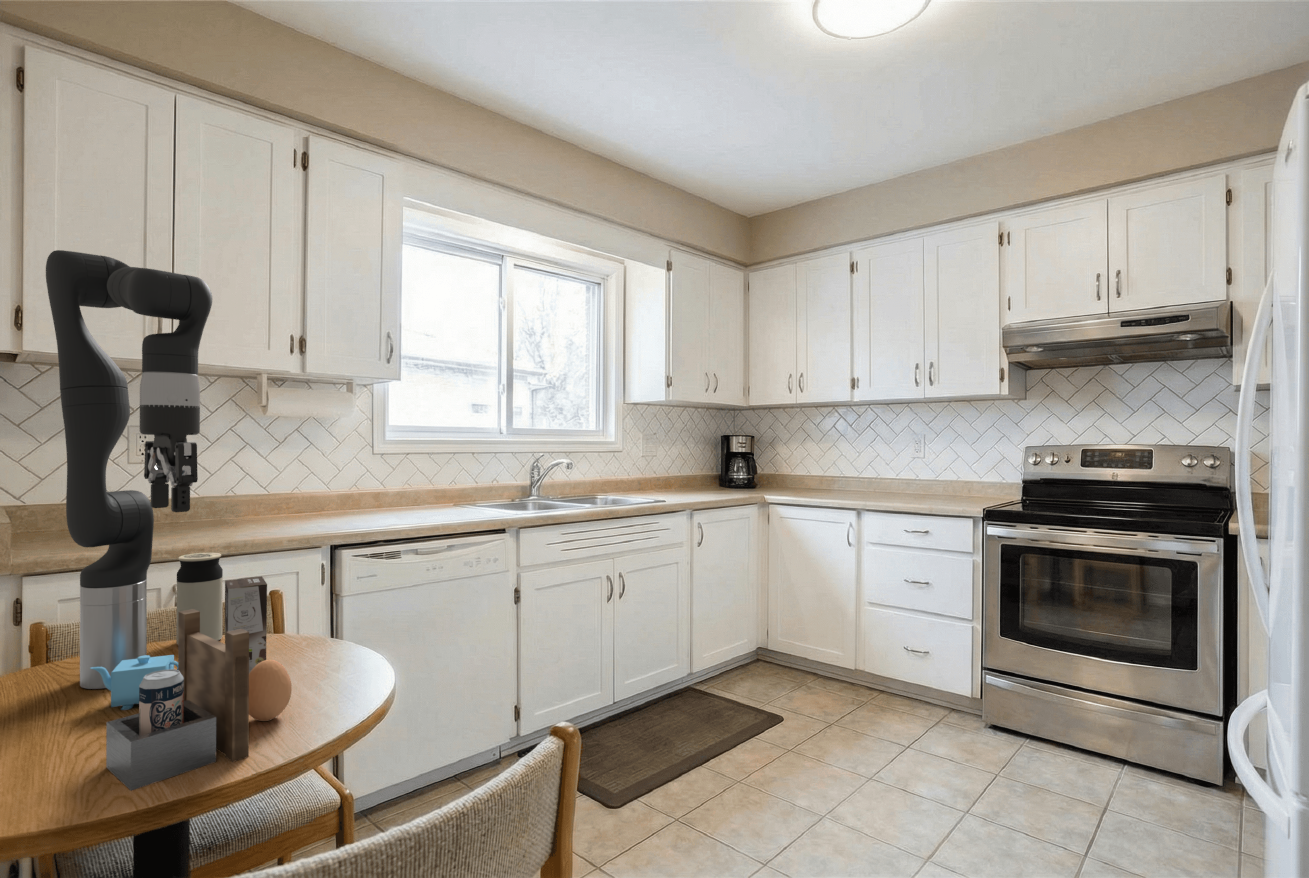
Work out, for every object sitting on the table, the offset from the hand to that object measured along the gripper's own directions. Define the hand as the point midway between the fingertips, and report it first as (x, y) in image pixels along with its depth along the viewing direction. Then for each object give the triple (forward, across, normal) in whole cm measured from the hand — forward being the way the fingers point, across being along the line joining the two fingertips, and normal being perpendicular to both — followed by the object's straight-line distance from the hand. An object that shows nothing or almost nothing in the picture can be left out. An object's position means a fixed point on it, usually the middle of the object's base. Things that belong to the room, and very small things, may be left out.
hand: (169, 509), depth 105 cm
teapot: (+32, +11, +1) cm, 34 cm away
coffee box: (+32, +15, -17) cm, 39 cm away
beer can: (+32, -16, +6) cm, 36 cm away
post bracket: (+32, -16, +6) cm, 36 cm away
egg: (+32, -12, -9) cm, 36 cm away
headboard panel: (+32, -13, -1) cm, 35 cm away
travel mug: (+32, +39, -18) cm, 54 cm away
